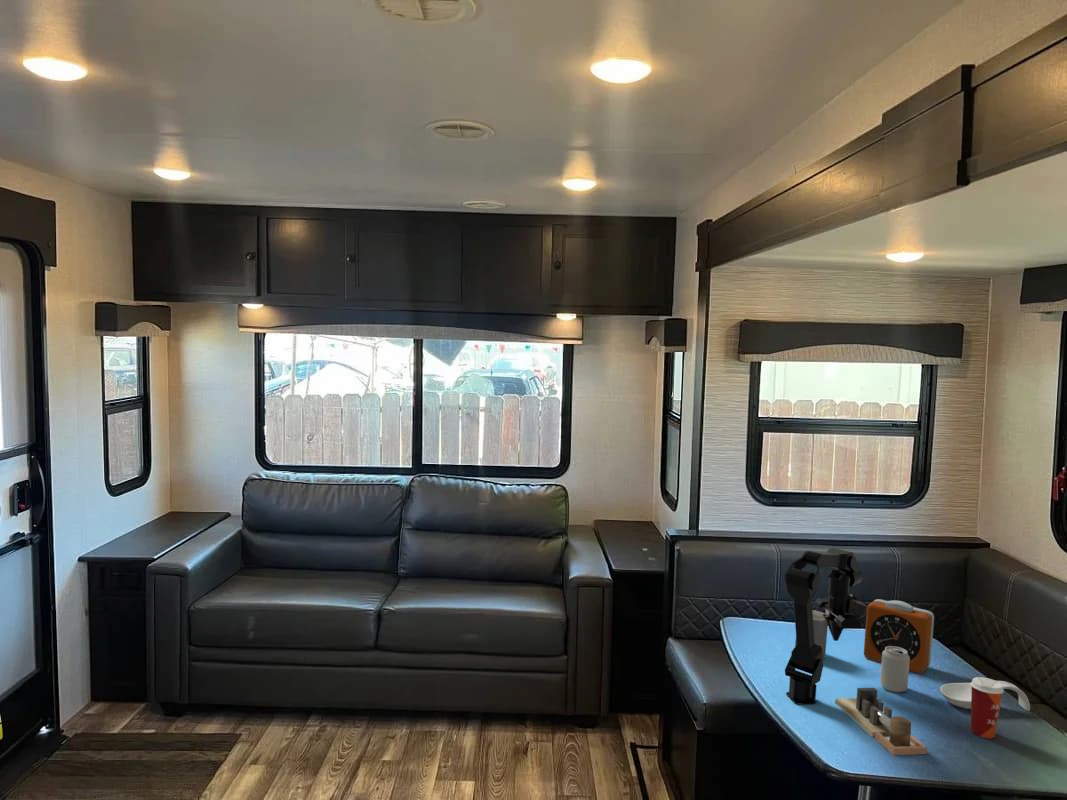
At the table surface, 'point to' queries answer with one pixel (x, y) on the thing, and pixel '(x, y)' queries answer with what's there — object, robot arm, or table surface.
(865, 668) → the table surface
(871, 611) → the alarm clock
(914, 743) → the picture frame
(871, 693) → the shaft
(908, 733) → the brown dome-ended cylinder
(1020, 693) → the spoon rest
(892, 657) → the can
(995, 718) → the paper cup
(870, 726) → the beige piece
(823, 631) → the pillar candle
